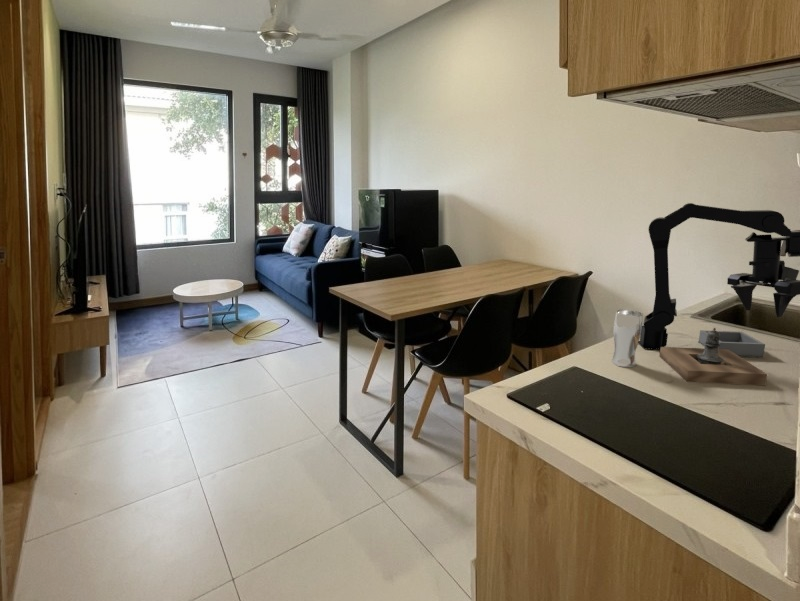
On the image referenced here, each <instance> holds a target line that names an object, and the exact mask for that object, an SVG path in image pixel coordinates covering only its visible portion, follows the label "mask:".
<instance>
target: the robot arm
mask: <svg viewBox="0 0 800 601" xmlns="http://www.w3.org/2000/svg"><path fill="white" fill-rule="evenodd" d="M693 218H694V219H700V220H707V221H713V222H714V221H715V222H721V223H728V224H734V225H740V226H743V227H746V228H749V229H752V230H755V231H759V232H762V233H765V234H757V233H756V232H754V231H753V232H751V233H750V234H749V235H748V236H747V237H746V238H745V239H744V240H745V241H746V242H748V243H753V255H752V256H753V258H752V259H753V260H751V261H750V260H749V261H748V265H749V266H752V272H751V273H747V272H741V273H734V274H729V276H728V277H727V281H726V282H727V283H726V284H727V285H730V288H731V289H733V290H734V292H735V294H737V297H738V299H739V300H740V302H741V304H742V305H743V307H744V309H745V310H746V311H750V310H751V309H752V303H753V302H752V301H753V292H754V290H755V289H756V287H757V286H761V287H767V288H774V291H775V292H773V294H772V295H773V302H774V309H775V314H776V317H777V318H782V316H783V315H784V313H785V311H786V310H787V308H788V306H789V304H790V302H791V301H792V300H793V299H794V298H795V297H797V296H798V295H800V279H798V275H799V273H800V270H799V269H796V268H793V267H789V266H786V264H785V261H784V260H781V253H783V254H787V256H788V257H789V258H791V257H792V258H793V257H795V258H799V257H800V231H798V230H797V231H792V230H791V228H789V227H788V226H787V225H786V224H785V217H784V215H783V214H782V213H780V212H779V211H774V210H770V209H759V210H758V209H750V210H740V209H739V210H738V209H730V208H723V207H716V206H710V205H701V204H695V203H693V202H687V203H685V204H684V205H682V207H680V208H678V209H677V210H674V211H673V212H670V213H669V214H668V215H666V216H664V217H660V216H659V217H656V218H654V219H653V220H652V221H651V222H650V224H649V225H648V233H649V238H650V242H651V245H652V249H653V258H654V259H653V262H654V282H655V283H654V284H655V285H654V287H655V296H654V304H653V309H652V312H650V313H648V314H647V315H645V316H644V319H643V324H642V330H641V335H640V339H639V342H638V345H639V346H641V347H642V349H644V350H660V348H661V347H667V344H668V336H669V333H667V332H668V330H667V328H666V327H667V326H670V325H671V324H672V323H673V322H674V321H675V317H678V316H677V315H678V311H677V298H671V294H670V279H669V278H670V277H669V254H668V252H669V251H668V249H669V243H670V238H671V233H672V230H673V229H674V228H677V227H678V226H679V225H681V224H683V223H684V222H685V221H687V220H689V219H693ZM772 233H774V234H776V235H779V236H781V237H772ZM781 250H782V252H781Z"/></svg>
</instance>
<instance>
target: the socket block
mask: <svg viewBox="0 0 800 601" xmlns="http://www.w3.org/2000/svg"><path fill="white" fill-rule="evenodd" d="M704 350H705V348H702V347H700V348H699V347H697V348H696V347H678V346H677V347H675V346H674V347H673V346H670V347H669V346H665V347H661V348H660V351H659V356H658V357H660V358H661V359H662V360H663V361H664V362H665V363H666V364H667V365H668V366H669V367H670V368H671V369H673V370H674V371H675V372H676V373H677V374H678V375H679V376H680V377H681V378H683V379H684V381H686V382H691V383H707V384H708V383H710V384H711V383H712V384H727V385H728V384H729V385H732V384H733V385H748V386H751V385H752V386H766V382H767V378H768V374H767V373H766V372H764V371H763V370H761V369H760V368H758V367H757V366H755V365H754V364H752V363H751V362H749V361H748V360H746V359H744V357H743V358H742V357H741V356H738V355H736V354H735V353H733V352H732V351H730V350H728V349H718V356H719V357H721V358H722V359H723V361H722V362H721V364H720V365H713V364H700V363H699V361H698V357H697V355H698V354H702V353H703V352H704Z"/></svg>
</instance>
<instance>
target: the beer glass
mask: <svg viewBox="0 0 800 601" xmlns="http://www.w3.org/2000/svg"><path fill="white" fill-rule="evenodd" d="M642 325H643V312H642V311H639V310H635V309H626V308H625V309H623V308H622V309H617V310H616V311H615V316H614V322H613V331H612V332H613V342H614V343H613V344H614V350H613V351H614V352H613V355H612V359H611V363H612V364H613V365H614V366H618V367H622V368H634V367H635V366H636V350H637V348H638V345H639V343H638V342H639V341H640V335H641V330H642Z"/></svg>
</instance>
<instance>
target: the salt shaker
mask: <svg viewBox="0 0 800 601" xmlns="http://www.w3.org/2000/svg"><path fill="white" fill-rule="evenodd" d="M708 331H709V332H708V333H707V339H706V342H704V344H705V347H704V349H705V350H704V352H703V353H702V354H698V355H697V357H698V361H699V363H700V364H713V365H720V364H721V362H722V361H723V359H722V358H721V357H719V356H718V347H719V346H720V344H719V338H720V334H719V332H717V331H718V330H717V328H716V327H713V328H712V330H708Z"/></svg>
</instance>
